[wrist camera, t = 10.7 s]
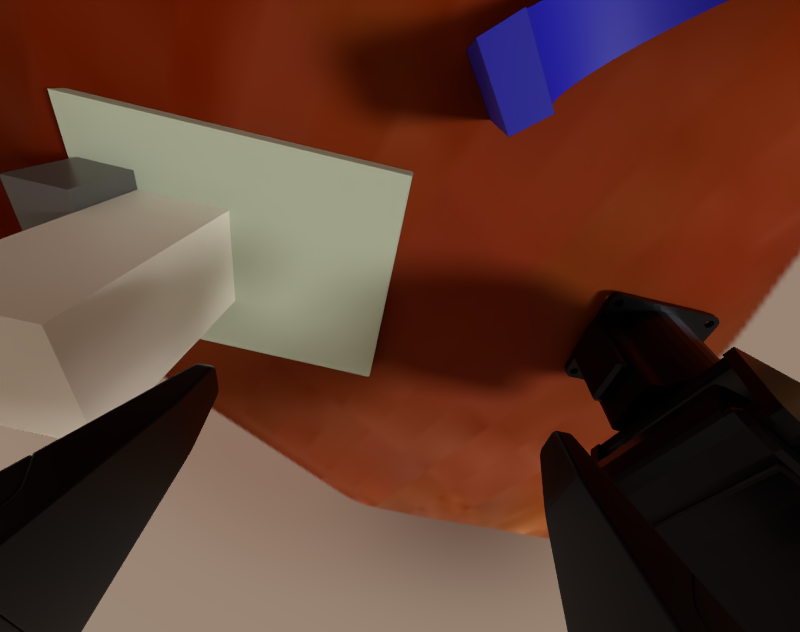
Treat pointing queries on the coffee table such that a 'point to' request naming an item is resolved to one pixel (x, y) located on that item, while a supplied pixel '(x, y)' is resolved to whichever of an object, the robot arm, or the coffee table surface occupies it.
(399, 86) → the coffee table surface
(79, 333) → the plug housing
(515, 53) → the cable clip
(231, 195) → the board
